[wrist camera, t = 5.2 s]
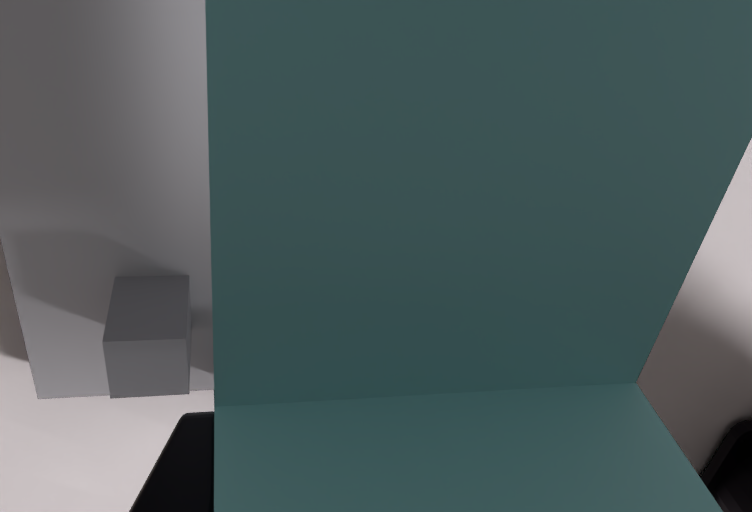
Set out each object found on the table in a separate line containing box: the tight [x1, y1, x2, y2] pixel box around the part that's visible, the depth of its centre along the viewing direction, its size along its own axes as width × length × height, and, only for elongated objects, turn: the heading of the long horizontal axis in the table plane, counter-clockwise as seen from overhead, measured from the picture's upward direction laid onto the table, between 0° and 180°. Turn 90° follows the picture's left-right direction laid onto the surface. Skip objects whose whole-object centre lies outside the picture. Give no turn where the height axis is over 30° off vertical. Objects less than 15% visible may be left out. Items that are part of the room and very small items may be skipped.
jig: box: [0, 0, 214, 399], centre depth 12 cm, size 16×12×3 cm
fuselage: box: [205, 0, 752, 512], centre depth 7 cm, size 12×4×4 cm, turn 173°
